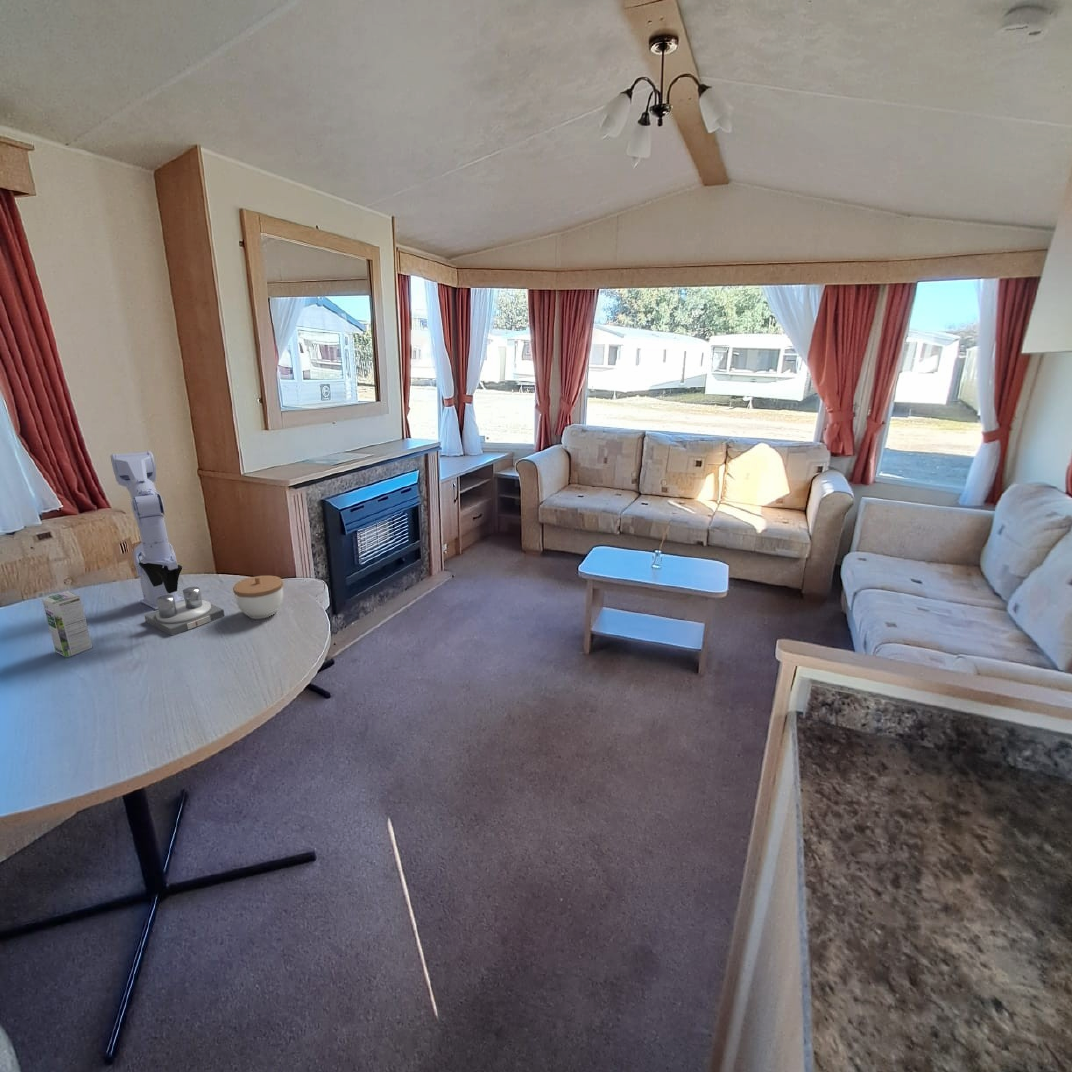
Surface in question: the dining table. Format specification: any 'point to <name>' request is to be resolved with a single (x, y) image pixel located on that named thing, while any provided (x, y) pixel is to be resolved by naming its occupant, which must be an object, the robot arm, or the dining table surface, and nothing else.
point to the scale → (185, 617)
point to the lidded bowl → (259, 596)
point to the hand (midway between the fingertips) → (165, 588)
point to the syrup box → (67, 623)
